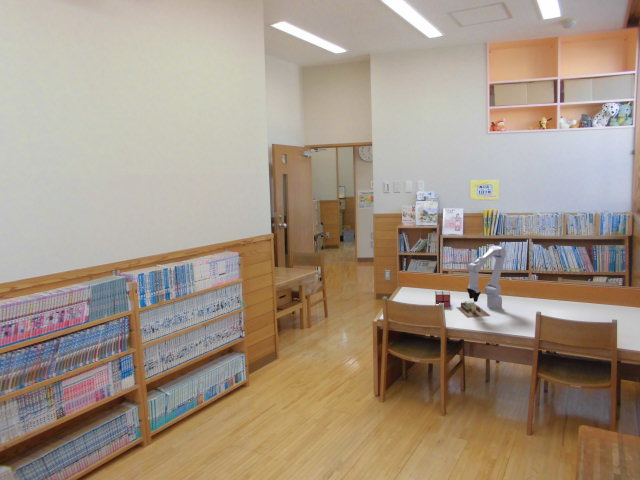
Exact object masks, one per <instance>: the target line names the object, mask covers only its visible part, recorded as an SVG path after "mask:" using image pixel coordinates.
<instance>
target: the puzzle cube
mask: <svg viewBox="0 0 640 480" xmlns="http://www.w3.org/2000/svg"><path fill="white" fill-rule="evenodd" d="M434 298H435V302H434V303H435V305H436V304H439V303H444V306H445V307H444V308H450V307H451V293H450V291H449V290H435V297H434Z"/></svg>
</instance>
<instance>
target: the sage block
mask: <svg viewBox="0 0 640 480" xmlns="http://www.w3.org/2000/svg"><path fill="white" fill-rule="evenodd" d="M464 302H465V306H466V307H467V308H468V310H472V312H473V313H476V305H477V304H476V303H475V302H474V300H465V301H464Z"/></svg>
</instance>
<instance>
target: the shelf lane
mask: <svg viewBox="0 0 640 480" xmlns="http://www.w3.org/2000/svg"><path fill="white" fill-rule="evenodd" d="M455 309H457V310H458V311H459V312H460V313H462V314H463V315H464V316H465V317H466V318H483V317H491V315H490V314H489V313H488V312H486V311H485V310H484V309H483V308H482V307H480V306H479V305H477V304H476V313H473V312H472V310H468V308H467V307H466V306H465V301H463V302H460V306H459V307H458V306H456V307H455Z"/></svg>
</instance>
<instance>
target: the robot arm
mask: <svg viewBox="0 0 640 480" xmlns="http://www.w3.org/2000/svg"><path fill="white" fill-rule="evenodd" d="M506 255H507V249H506V248H505V247H504V246H497V245H491V246H490V247H488V250H487V252H486V253H485V254H483V256H478V258H477V259H475V261H473V262H470V263H469V264H468V266H467V267H466V268H467V270H468V274H469V279H468V280H469V281H468V282H469V283H468V285H467V288H466V291H467V293H468V298H469V299H470V300H472V301H473V302H474V303H477V302H478V301H479V300H478V299H479V298H480V297H479V296H480V295H481V293H482V292H481V291H480V288H479V272H480V270H481V269H482V267H483V266H484V265H486V263H487V261H488V260H489V259H491V258H494V259H495V261H494V266H493V268H492V269H493V270H492V273H491V278H490V281H489V282H487V283H486V286H485V287H484V293H485V295H486V298H487V299H486V301H487V302H486V306H487V308H489V309H500V310H501V309H503V298H502V295H501V291H502V286H501V285H500V284H499V282H500V278H501V274H502V270H503V266H504V262H505V258H506Z"/></svg>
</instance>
